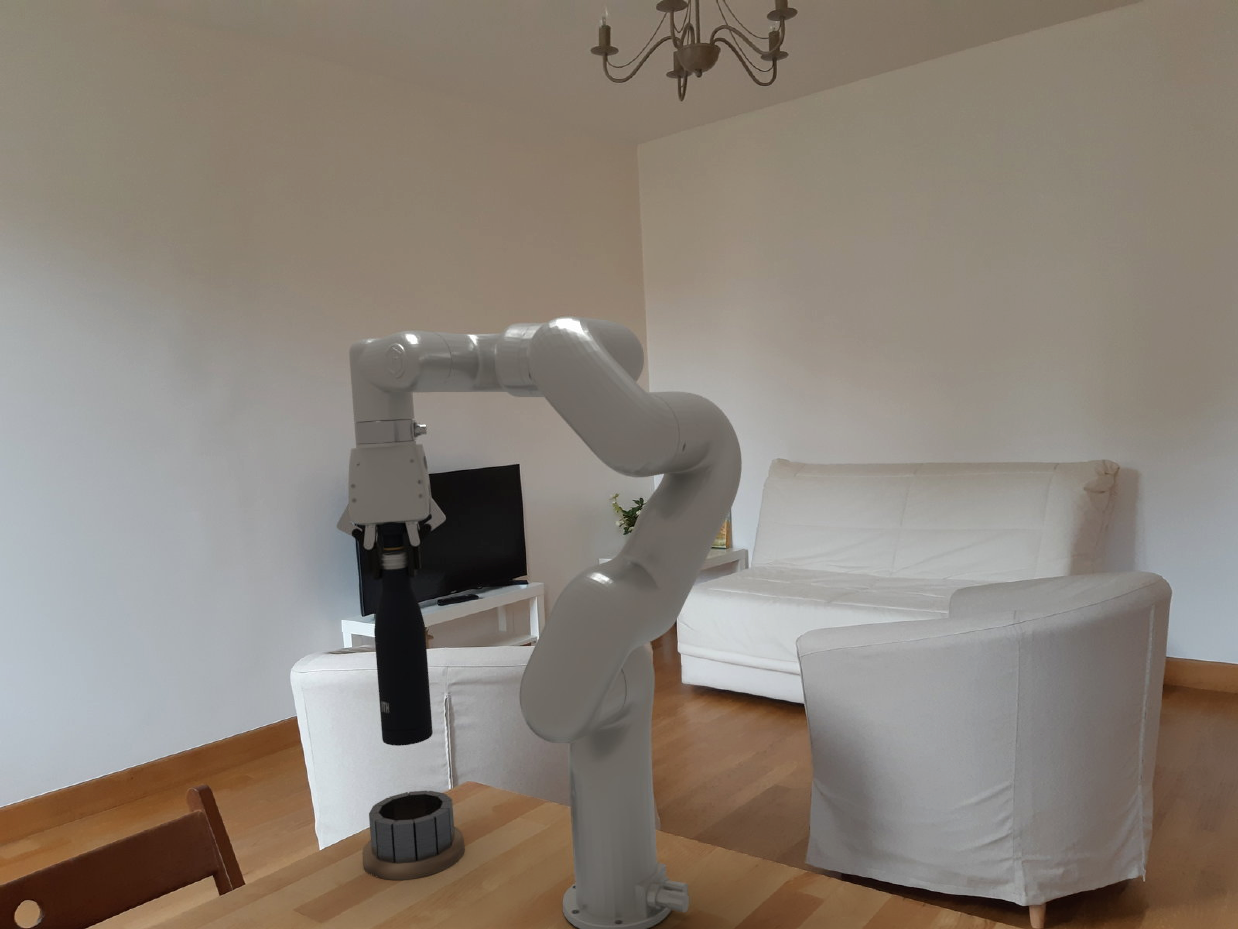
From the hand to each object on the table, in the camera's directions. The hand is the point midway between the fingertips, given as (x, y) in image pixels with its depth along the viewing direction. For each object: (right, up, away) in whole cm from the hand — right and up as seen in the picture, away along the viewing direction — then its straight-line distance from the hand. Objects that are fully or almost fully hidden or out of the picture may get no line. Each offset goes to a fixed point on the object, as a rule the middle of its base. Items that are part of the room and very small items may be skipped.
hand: (395, 575), depth 121 cm
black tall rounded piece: (+1, -21, +1) cm, 21 cm away
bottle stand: (+2, -37, +2) cm, 37 cm away
